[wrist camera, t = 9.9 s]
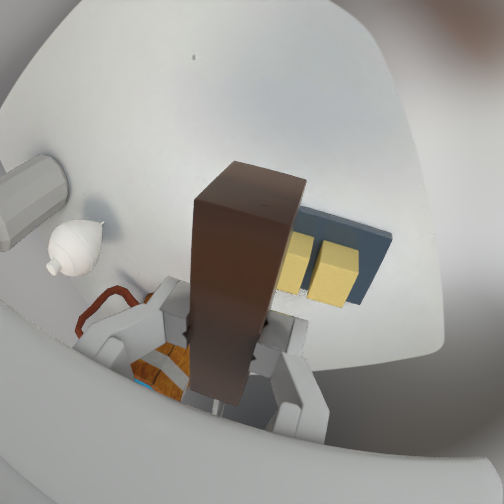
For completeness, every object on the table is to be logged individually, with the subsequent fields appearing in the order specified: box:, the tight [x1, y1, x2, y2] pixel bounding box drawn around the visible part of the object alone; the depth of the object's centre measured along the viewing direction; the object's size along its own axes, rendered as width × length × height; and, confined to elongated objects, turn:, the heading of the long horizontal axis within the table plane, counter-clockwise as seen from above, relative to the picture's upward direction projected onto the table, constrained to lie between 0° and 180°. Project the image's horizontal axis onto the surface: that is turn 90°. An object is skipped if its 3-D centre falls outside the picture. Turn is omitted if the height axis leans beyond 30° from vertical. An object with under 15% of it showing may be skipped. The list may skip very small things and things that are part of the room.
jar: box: [0, 155, 69, 252], centre depth 33 cm, size 10×10×18 cm
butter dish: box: [293, 206, 393, 305], centre depth 34 cm, size 10×16×1 cm, turn 82°
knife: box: [189, 161, 307, 417], centre depth 15 cm, size 21×2×3 cm, turn 171°
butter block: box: [277, 231, 314, 295], centre depth 32 cm, size 5×7×4 cm
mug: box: [75, 285, 190, 402], centre depth 43 cm, size 20×14×15 cm
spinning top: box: [46, 220, 105, 276], centre depth 37 cm, size 8×8×12 cm
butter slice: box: [307, 240, 359, 308], centre depth 31 cm, size 5×4×4 cm
